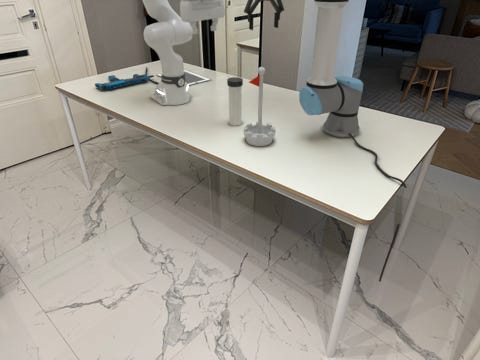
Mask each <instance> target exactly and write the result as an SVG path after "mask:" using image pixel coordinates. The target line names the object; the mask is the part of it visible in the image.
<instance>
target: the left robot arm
mask: <svg viewBox="0 0 480 360" xmlns="http://www.w3.org/2000/svg"><path fill="white" fill-rule="evenodd" d="M141 1H142V4H143V6H144V8H145V10H146V12H147V14H148V15H149V16H150V17H151V18H152V19H155V20H156V21H158V22H154V23H151V24H148V25H145V27H144V30H143V39H144V42H145V43H146V45H147V46H148V47H149V48H151V49H152V50H154V51H155V53H156V54H157V56H158V58H159V62H160V66H161V72H162V73H160V74H161V75H162V76H159V78H161V79H160V82H158V81H155V80H153V79H151V78H149V80H148V81H150V82H152V83H154V84H157V85H155V87H154V94H152V95H151V96H150V97H151V99H152V100H154V101H155V102H157V103H158V104H160V105H161V106H180V105H185V104H186V103H189V102H190V100H191V99H190V98H191V94H190V93H189V92H190V91H189V87H190V85H189V86H187V83H186V82H185V81H186V76H185V73H184V70H185V66H184V59H183V57H182V56H181V55H180V54H179V53H176V52H175V51H174V48H173V47H174V46H179V45H184V44H186V43H188V42H190V41H191V40H192V39H193V36H194V35H198V34H199V33H200V32H199V31H200V30H199V28H198V27H197V26H196V25H197V22H201V21H207V20H211V22H212V23H211V25H210V31H211V32H215V31H217V26H218V23H219V19H221V18H224V17H225V16H226V9H225V7H226V6H225V1H224V0H180V2H179V14H180V16H179V14H178V13H177V12H176V11H175V10H174V9H173V7H172V6H171V4H170V2H169V0H141ZM144 74H145V75H147V76H148V67H145V73H144Z"/></svg>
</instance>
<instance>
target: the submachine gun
mask: <svg viewBox="0 0 480 360" xmlns="http://www.w3.org/2000/svg"><path fill="white" fill-rule="evenodd" d="M107 77H108V80H109V82H103V83H100V82H96V83H94V86H95V88H97V89H98V90H100V91H107V90H113V91H114V90H115V89H116V88H120V87H125V86H129V85H134V84H138V83H139V84H140V83H145V82H146V83H147V81H150V80H149V78H150V79H151V78H154V77H155V76H154V74H151V75H148V74H147V75H145V73H144V74H138V73H134V74H133V75H132V77H129V78H121V79H120V78H118V77H117V76H116V75H113V74H112V75H108V76H107Z"/></svg>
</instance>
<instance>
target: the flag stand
mask: <svg viewBox="0 0 480 360" xmlns="http://www.w3.org/2000/svg"><path fill="white" fill-rule="evenodd" d="M257 74H258V75H257V76H256V77H254V78H252V79H251V80H250V81H248V84H252V85H253V86H256V87H258V104H257V105H258V108H257V109H258V112H257V121H256V122H255V124H253V123H252V122H249V123H246V124H245V125H246V126H244V127H243V135H244V137H245V141H246V143H248V145H252V146H256V147H263V146H268V145H270V144H272V143H273V138H274V137H275V136H276V127H275V126H273V124H272V123H269V122H267V123H266V124H263V101H264V100H263V95H264V75H265V74H266V68H265V67H263V66H260V67H258V68H257Z"/></svg>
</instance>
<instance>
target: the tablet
mask: <svg viewBox="0 0 480 360" xmlns="http://www.w3.org/2000/svg"><path fill="white" fill-rule="evenodd" d="M184 73H185V76H186V81H185V82H186V83H187V86H189V87H190V86H192V85H197V84H200V83H205V82H208V81H211V80H212V79H210V78H207V77H205V76H202V75H199V74H197V73H194V72H192V71H190V70H187V69H184ZM161 74H162V73H158V74H156V76H157V77H160V76H162V75H161Z"/></svg>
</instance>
